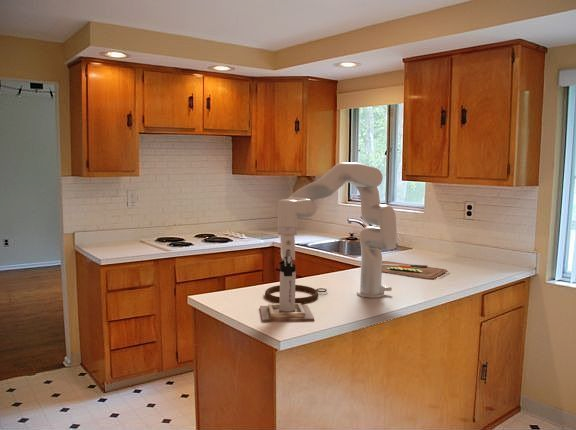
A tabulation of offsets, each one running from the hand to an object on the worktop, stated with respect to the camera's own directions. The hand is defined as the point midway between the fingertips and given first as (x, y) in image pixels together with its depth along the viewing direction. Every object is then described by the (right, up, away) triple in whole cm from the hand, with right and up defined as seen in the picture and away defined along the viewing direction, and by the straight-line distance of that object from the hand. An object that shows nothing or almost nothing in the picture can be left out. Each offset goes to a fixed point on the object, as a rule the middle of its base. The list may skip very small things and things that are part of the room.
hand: (286, 273), depth 206 cm
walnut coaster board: (0, -17, +2) cm, 17 cm away
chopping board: (+67, -9, +85) cm, 109 cm away
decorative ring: (+5, -14, +30) cm, 33 cm away
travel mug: (0, -16, +2) cm, 16 cm away
